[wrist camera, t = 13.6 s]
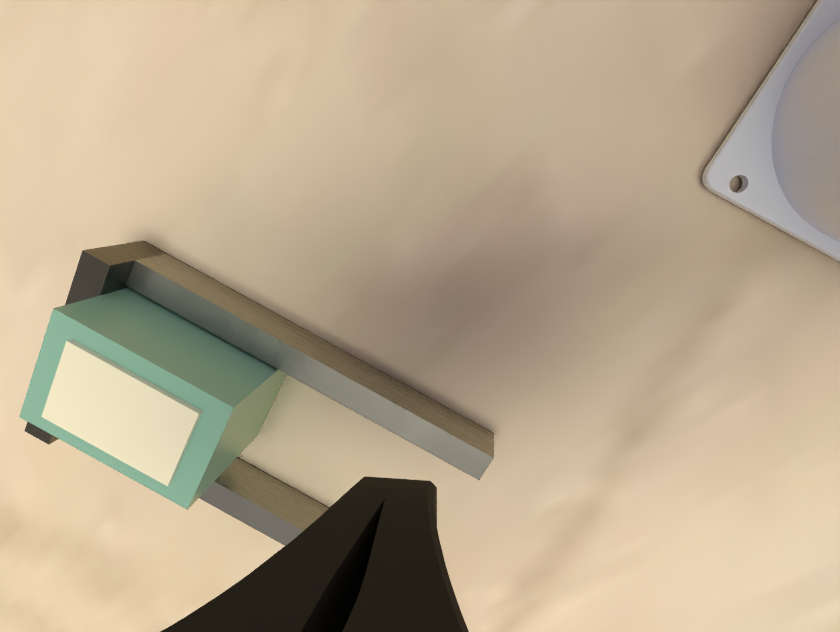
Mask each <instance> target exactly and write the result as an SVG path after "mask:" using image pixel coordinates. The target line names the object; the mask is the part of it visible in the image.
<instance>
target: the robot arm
mask: <svg viewBox="0 0 840 632" xmlns="http://www.w3.org/2000/svg"><path fill="white" fill-rule="evenodd" d="M735 176H739V177H740V178H741V179H742V186H741V188H740V189H739V190H738V191H737V192H733V191H732V190H731V189H730V185H729V184H730V181H731V179H732V178H733V177H735ZM703 184H704V186H705V187H706V188H707V189H708V190H709V191H711V192H712V193H714V194H716V195H718V196H720V197H722V198H723V199H725V200H727V201H729V202H731V203H733V204H734V205H736V206H738V207H740V208H742V209H743V210H745V211H747V212H749V213H751V214H753V215H754V216H756V217H758V218H760V219H762V220H764V221H765V222H767V223H769V224H771V225H773V226H775V227H776V228H778V229H780V230H782V231H784V232H785V233H787V234H789V235H791V236H793V237H795V238H796V239H798V240H800V241H802V242H804V243H806V244H807V245H809V246H811V247H813V248H815V249H816V250H818V251H820V252H822V253H824V254H826V255H827V256H829V257H831V258H833V259H835V260H837V261H838V262H840V0H817V2H816V3H815V5H814V6H813V8H812V9H811V11H810V12H809V14H808V15H807V17H806V18H805V20H804V21H803V23H802V24H801V26H800V27H799V29H798V30H797V32H796V33H795V35H794V36H793V38H792V39H791V41H790V42H789V44H788V45H787V47H786V48H785V50H784V51H783V53H782V54H781V56H780V57H779V59H778V60H777V62H776V63H775V65H774V66H773V68H772V69H771V71H770V72H769V74H768V75H767V77H766V78H765V80H764V81H763V83H762V84H761V86H760V87H759V89H758V90H757V92H756V93H755V95H754V96H753V98H752V99H751V101H750V102H749V104H748V105H747V107H746V108H745V110H744V111H743V113H742V114H741V116H740V117H739V119H738V120H737V122H736V123H735V125H734V126H733V128H732V129H731V131H730V132H729V134H728V135H727V137H726V138H725V140H724V141H723V143H722V144H721V146H720V147H719V149H718V150H717V152H716V153H715V155H714V156H713V158H712V159H711V161H710V162H709V164H708V165H707V167H706V168H705V170H704V173H703ZM161 632H469V631H468V629H467V626H466V624H465V621H464V619H463V616H462V613H461V611H460V608H459V605H458V603H457V600H456V597H455V594H454V591H453V588H452V585H451V582H450V579H449V575H448V572H447V569H446V565H445V561H444V557H443V553H442V549H441V545H440V541H439V537H438V531H437V487H436V486H435V485H434V484H433V483H432V482H431V481H422V480H407V479H392V478H377V477H364V478H362V479H361V480H360V481H359V482H358V483H357V484H356V485H354V486H353V487H352V488H351V489H350V490H349V491H348V492H347V493H345V494H344V495H343V496H342V497H341V498H340V499H339V500H338V501H337V502H336V503H334V504H333V505H332V506H331V507H330V508H329V509H328V510H327V511H326V512H324V513H323V514H322V515H321V516H320V517H319V518H318V519H317V520H315V521H314V522H313V523H312V524H311V525H310V526H308V527H307V528H306V529H305V530H304V531H303V532H302V533H300V534H299V535H298V536H297V537H296V538H295V539H293V540H292V541H291V542H290V543H289V544H287V545H286V546H285V547H283V548H282V549H281V550H280V551H278V552H277V553H276V554H274V555H273V556H272V557H271V558H269V559H268V560H267V561H266V562H264V563H263V564H262V565H260V566H259V567H258V568H257V569H255V570H254V571H253V572H251V573H250V574H249V575H247V576H246V577H245V578H243V579H242V580H240V581H239V582H238V583H236V584H235V585H233V586H232V587H231V588H229V589H228V590H226V591H225V592H223V593H222V594H220V595H219V596H217V597H216V598H214V599H213V600H211V601H210V602H208V603H207V604H205V605H203V606H202V607H200V608H199V609H197V610H196V611H194V612H193V613H191V614H190V615H188V616H186V617H185V618H183V619H182V620H180V621H178V622H177V623H175V624H173V625H172V626H170V627H168V628H166V629H165V630H163V631H161Z"/></svg>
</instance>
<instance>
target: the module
mask: <svg viewBox="0 0 840 632" xmlns="http://www.w3.org/2000/svg"><path fill="white" fill-rule="evenodd" d="M285 376H286V373H284V372H282V371H280V370H279V369H277V368H275V367H273V366H271V365H269V364H268V363H266V362H264V361H262V360H260V359H259V358H257V357H255V356H253V355H251V354H249V353H248V352H246V351H244V350H242V349H240V348H239V347H237V346H235V345H233V344H231V343H230V342H228V341H226V340H224V339H222V338H220V337H219V336H217V335H215V334H213V333H211V332H210V331H208V330H206V329H204V328H202V327H201V326H199V325H197V324H195V323H193V322H191V321H190V320H188V319H186V318H184V317H182V316H181V315H179V314H177V313H175V312H173V311H172V310H170V309H168V308H166V307H164V306H162V305H161V304H159V303H157V302H155V301H153V300H152V299H150V298H148V297H146V296H144V295H142V294H141V293H139V292H137V291H135V290H133V289H132V288H130V287H129V288H125V289H122V290H118V291H114V292H111V293H107V294H104V295H100V296H97V297H93V298H89V299H86V300H82V301H79V302H75V303H71V304H68V305H64V306H61V307H57V308H54V309H53V311H52V315H51V318H50V321H49V324H48V327H47V331H46V334H45V337H44V340H43V343H42V346H41V350H40V353H39V356H38V359H37V362H36V366H35V369H34V372H33V375H32V378H31V382H30V385H29V388H28V391H27V394H26V397H25V401H24V404H23V407H22V410H21V413H20V418H22V419H24V420H26V421H28V422H30V423H31V424H33V425H35V426H37V427H39V428H40V429H42V430H44V431H46V432H48V433H49V434H51V435H53V436H55V437H57V438H59V439H60V440H62V441H64V442H66V443H68V444H69V445H71V446H73V447H75V448H77V449H78V450H80V451H82V452H84V453H86V454H88V455H89V456H91V457H93V458H95V459H97V460H98V461H100V462H102V463H104V464H106V465H107V466H109V467H111V468H113V469H115V470H117V471H118V472H120V473H122V474H124V475H126V476H127V477H129V478H131V479H133V480H135V481H137V482H138V483H140V484H142V485H144V486H146V487H147V488H149V489H151V490H153V491H155V492H156V493H158V494H160V495H162V496H164V497H166V498H167V499H169V500H171V501H173V502H175V503H176V504H178V505H180V506H182V507H184V508H185V509H187V510H188V508H189V507H190V506H191V505H192V504H193V503H194V502H195V501H196V500H197V499H198V498H199V497H200V496H201V495H202V494H203V493H204V492H205V490H206V489H207V488H208V487H209V486H210V485H211V484H212V483H213V482H214V481H215V480H216V479H217V478H218V477H219V476H220V475H221V474H222V472H223V471H224V470H225V469H226V468H227V467H228V466H229V465H230V464H231V463H232V462H233V461H234V460H235V459H236V458H237V457H238V456H239V454H240V453H241V452H242V451H243V450H244V449H245V448H246V447H247V446H248V445H249V444H250V443H251V442H252V441H253V440H254V439H255V438H256V436H257V435H258V432H259V430H260V428H261V426H262V424H263V422H264V420H265V418H266V416H267V414H268V412H269V410H270V408H271V405H272V403H273V401H274V399H275V397H276V395H277V393H278V391H279V389H280V387H281V385H282V383H283V381H284V378H285Z"/></svg>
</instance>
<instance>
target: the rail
mask: <svg viewBox="0 0 840 632" xmlns="http://www.w3.org/2000/svg"><path fill="white" fill-rule="evenodd" d="M129 287H130V288H132V289H133V290H135V291H137V292H139V293H141V294H142V295H144V296H146V297H148V298H150V299H152V300H153V301H155V302H157V303H159V304H161V305H162V306H164V307H166V308H168V309H170V310H172V311H173V312H175V313H177V314H179V315H181V316H182V317H184V318H186V319H188V320H190V321H191V322H193V323H195V324H197V325H199V326H201V327H202V328H204V329H206V330H208V331H210V332H211V333H213V334H215V335H217V336H219V337H220V338H222V339H224V340H226V341H228V342H230V343H231V344H233V345H235V346H237V347H239V348H240V349H242V350H244V351H246V352H248V353H249V354H251V355H253V356H255V357H257V358H259V359H260V360H262V361H264V362H266V363H268V364H269V365H271V366H273V367H275V368H277V369H279V370H280V371H282V372H284V373H286V374H288V375H289V376H291V377H293V378H295V379H297V380H298V381H300V382H302V383H304V384H306V385H308V386H309V387H311V388H313V389H315V390H317V391H318V392H320V393H322V394H324V395H326V396H327V397H329V398H331V399H333V400H335V401H337V402H338V403H340V404H342V405H344V406H346V407H347V408H349V409H351V410H353V411H355V412H356V413H358V414H360V415H362V416H364V417H366V418H367V419H369V420H371V421H373V422H375V423H376V424H378V425H380V426H382V427H384V428H386V429H387V430H389V431H391V432H393V433H395V434H396V435H398V436H400V437H402V438H404V439H405V440H407V441H409V442H411V443H413V444H415V445H416V446H418V447H420V448H422V449H424V450H425V451H427V452H429V453H431V454H433V455H434V456H436V457H438V458H440V459H442V460H444V461H445V462H447V463H449V464H451V465H453V466H454V467H456V468H458V469H460V470H462V471H463V472H465V473H467V474H469V475H471V476H473V477H474V478H476V479H478V480H480V478H481V477H482V475H483V474H484V472H485V471H486V469H487V467H488V466H489V464H490V463H491V461H492V460H493V458H494V434H493V433H491V432H490V431H488V430H486V429H484V428H482V427H480V426H479V425H477V424H475V423H473V422H471V421H470V420H468V419H466V418H464V417H462V416H460V415H459V414H457V413H455V412H453V411H451V410H450V409H448V408H446V407H444V406H442V405H441V404H439V403H437V402H435V401H433V400H431V399H430V398H428V397H426V396H424V395H422V394H421V393H419V392H417V391H415V390H413V389H411V388H410V387H408V386H406V385H404V384H402V383H401V382H399V381H397V380H395V379H393V378H392V377H390V376H388V375H386V374H384V373H382V372H381V371H379V370H377V369H375V368H373V367H372V366H370V365H368V364H366V363H364V362H362V361H361V360H359V359H357V358H355V357H353V356H352V355H350V354H348V353H346V352H344V351H343V350H341V349H339V348H337V347H335V346H333V345H332V344H330V343H328V342H326V341H324V340H323V339H321V338H319V337H317V336H315V335H313V334H312V333H310V332H308V331H306V330H304V329H303V328H301V327H299V326H297V325H295V324H294V323H292V322H290V321H288V320H286V319H284V318H283V317H281V316H279V315H277V314H275V313H274V312H272V311H270V310H268V309H266V308H264V307H263V306H261V305H259V304H257V303H255V302H254V301H252V300H250V299H248V298H246V297H245V296H243V295H241V294H239V293H237V292H235V291H234V290H232V289H230V288H228V287H226V286H225V285H223V284H221V283H219V282H217V281H215V280H214V279H212V278H210V277H208V276H206V275H205V274H203V273H201V272H199V271H197V270H196V269H194V268H192V267H190V266H188V265H186V264H185V263H183V262H181V261H179V260H177V259H176V258H174V257H172V256H170V255H168V254H166V253H165V252H163V251H161V250H159V249H157V248H156V247H154V246H152V245H150V244H148V243H146V242H145V241H140V242H133V243H127V244H120V245H114V246H108V247H101V248H95V249H89V250H83V251H82V254H81V257H80V260H79V263H78V266H77V270H76V273H75V276H74V279H73V282H72V285H71V288H70V291H69V295H68V298H67V301H66V304H65V305H68V304H71V303H75V302H79V301H82V300H86V299H89V298H93V297H97V296H100V295H104V294H107V293H111V292H114V291H118V290H122V289H125V288H129ZM25 431H26V432H27V433H29V434H31V435H33V436H35V437H36V438H38V439H40V440H42V441H44V442H45V443H47V444H51V443H52V442H54V441H56V440H57V439H59V438H57V437H55V436H53V435H51V434H49V433H48V432H46V431H44V430H42V429H40V428H39V427H37V426H35V425H33V424H31V423H30V422H27V425H26V428H25ZM199 498H200V499H202V500H204V501H205V502H207V503H209V504H211V505H213V506H214V507H216V508H218V509H220V510H222V511H223V512H225V513H227V514H229V515H231V516H232V517H234V518H236V519H238V520H240V521H242V522H243V523H245V524H247V525H249V526H251V527H252V528H254V529H256V530H258V531H260V532H261V533H263V534H265V535H267V536H269V537H270V538H272V539H274V540H276V541H278V542H280V543H281V544H283V545H285V546H286V545H287V544H289V543H290V542H291V541H292V540H293V539H295V538H296V537H297V536H298V535H299V534H300V533H302V532H303V531H304V530H305V529H306V528H307V527H308V526H310V525H311V524H312V523H313V522H314V521H315V520H317V519H318V518H319V517H320V516H321V515H322V514H323V513H324V512H326V511H327V510H328V509H329V508H328V507H326V506H324V505H322V504H320V503H319V502H317V501H315V500H313V499H311V498H310V497H308V496H306V495H304V494H302V493H301V492H299V491H297V490H295V489H293V488H291V487H290V486H288V485H286V484H284V483H282V482H281V481H279V480H277V479H275V478H273V477H272V476H270V475H268V474H266V473H264V472H263V471H261V470H259V469H257V468H255V467H253V466H252V465H250V464H248V463H246V462H244V461H243V460H241V459H239V458H236V459H235V460H234V461H233V462H232V463H231V464H230V465H229V466H228V467H227V468H226V469H225V470H224V471H223V472H222V474H221V475H220V476H219V477H218V478H217V479H216V480H215V481H214V482H213V483H212V484H211V485H210V486H209V487H208V488H207V489H206V490H205V492H204V493H203V494H202V495H201V496H200V497H199Z"/></svg>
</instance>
